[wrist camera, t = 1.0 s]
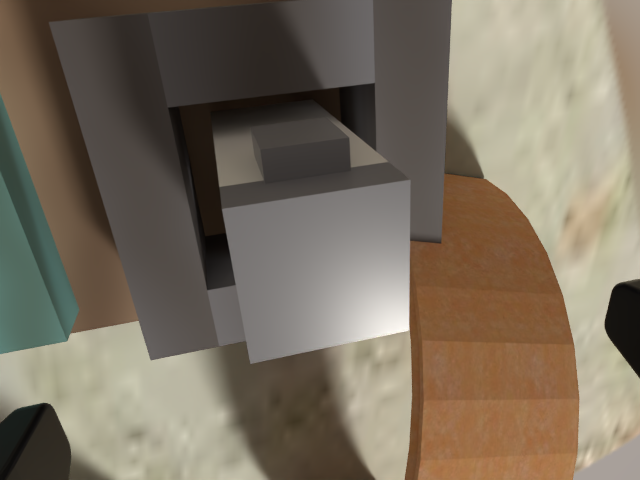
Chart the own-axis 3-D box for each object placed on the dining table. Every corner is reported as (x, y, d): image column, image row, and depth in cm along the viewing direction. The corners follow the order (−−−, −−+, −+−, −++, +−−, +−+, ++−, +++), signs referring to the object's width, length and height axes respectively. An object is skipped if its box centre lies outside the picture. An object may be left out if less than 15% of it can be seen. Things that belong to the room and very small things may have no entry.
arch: (283, 505, 27) (325, 743, 18) (368, 161, 20) (509, 280, 11) (378, 499, 29) (459, 713, 20) (490, 179, 21) (697, 296, 13)
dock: (-201, 369, 18) (-327, 485, 14) (-457, 22, 13) (-798, 31, 8) (400, 259, 22) (450, 322, 18) (400, -42, 17) (472, -59, 12)
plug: (227, 208, 18) (250, 363, 10) (206, 90, 16) (214, 171, 8) (320, 193, 19) (409, 330, 11) (310, 78, 17) (410, 143, 9)
